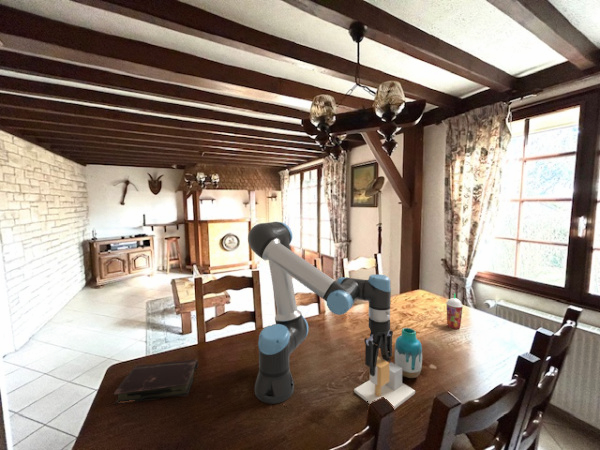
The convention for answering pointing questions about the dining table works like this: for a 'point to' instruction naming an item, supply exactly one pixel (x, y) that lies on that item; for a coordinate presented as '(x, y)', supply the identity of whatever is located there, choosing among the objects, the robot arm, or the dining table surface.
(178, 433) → the dining table surface
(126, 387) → the diary
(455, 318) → the smoothie
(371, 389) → the plate
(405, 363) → the vase
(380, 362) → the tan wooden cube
